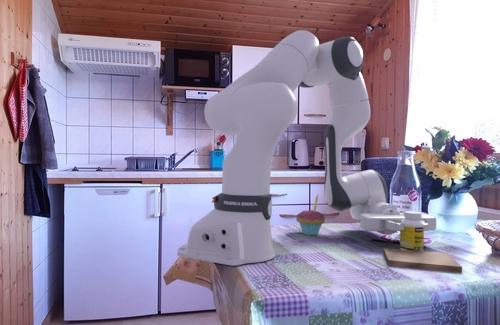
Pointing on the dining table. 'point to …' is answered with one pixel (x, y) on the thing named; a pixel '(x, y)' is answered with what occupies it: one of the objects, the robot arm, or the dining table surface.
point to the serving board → (421, 260)
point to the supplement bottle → (412, 232)
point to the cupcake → (310, 220)
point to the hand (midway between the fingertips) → (414, 227)
